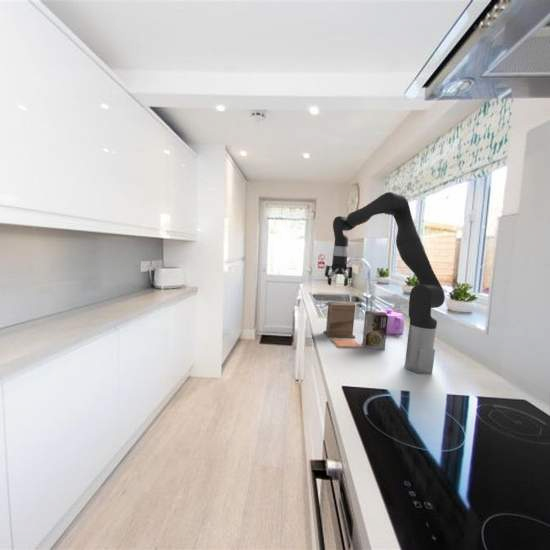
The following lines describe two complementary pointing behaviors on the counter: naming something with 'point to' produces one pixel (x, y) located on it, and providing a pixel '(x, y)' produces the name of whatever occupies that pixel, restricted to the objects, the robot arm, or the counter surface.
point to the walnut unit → (340, 320)
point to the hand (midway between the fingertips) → (337, 285)
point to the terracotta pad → (346, 343)
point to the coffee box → (375, 330)
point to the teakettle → (394, 322)
